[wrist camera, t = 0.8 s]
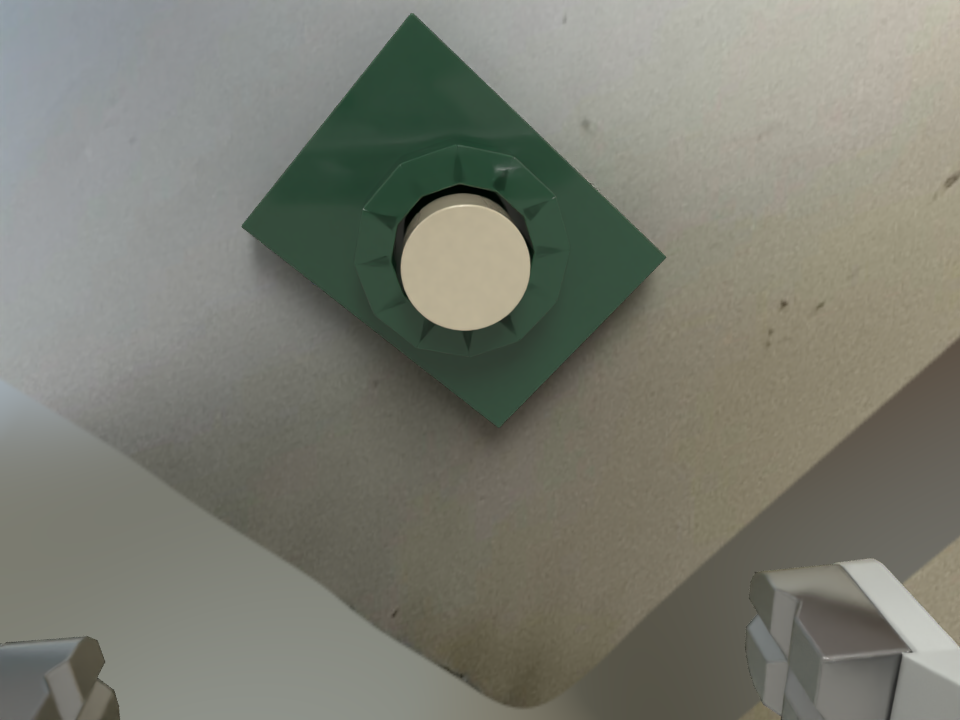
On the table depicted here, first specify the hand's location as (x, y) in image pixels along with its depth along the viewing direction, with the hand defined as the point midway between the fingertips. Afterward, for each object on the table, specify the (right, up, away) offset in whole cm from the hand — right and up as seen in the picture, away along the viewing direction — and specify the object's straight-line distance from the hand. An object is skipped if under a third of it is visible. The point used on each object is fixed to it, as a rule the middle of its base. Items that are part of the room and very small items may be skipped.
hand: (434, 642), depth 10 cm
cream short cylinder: (0, +7, +16) cm, 17 cm away
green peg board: (0, +8, +19) cm, 21 cm away
